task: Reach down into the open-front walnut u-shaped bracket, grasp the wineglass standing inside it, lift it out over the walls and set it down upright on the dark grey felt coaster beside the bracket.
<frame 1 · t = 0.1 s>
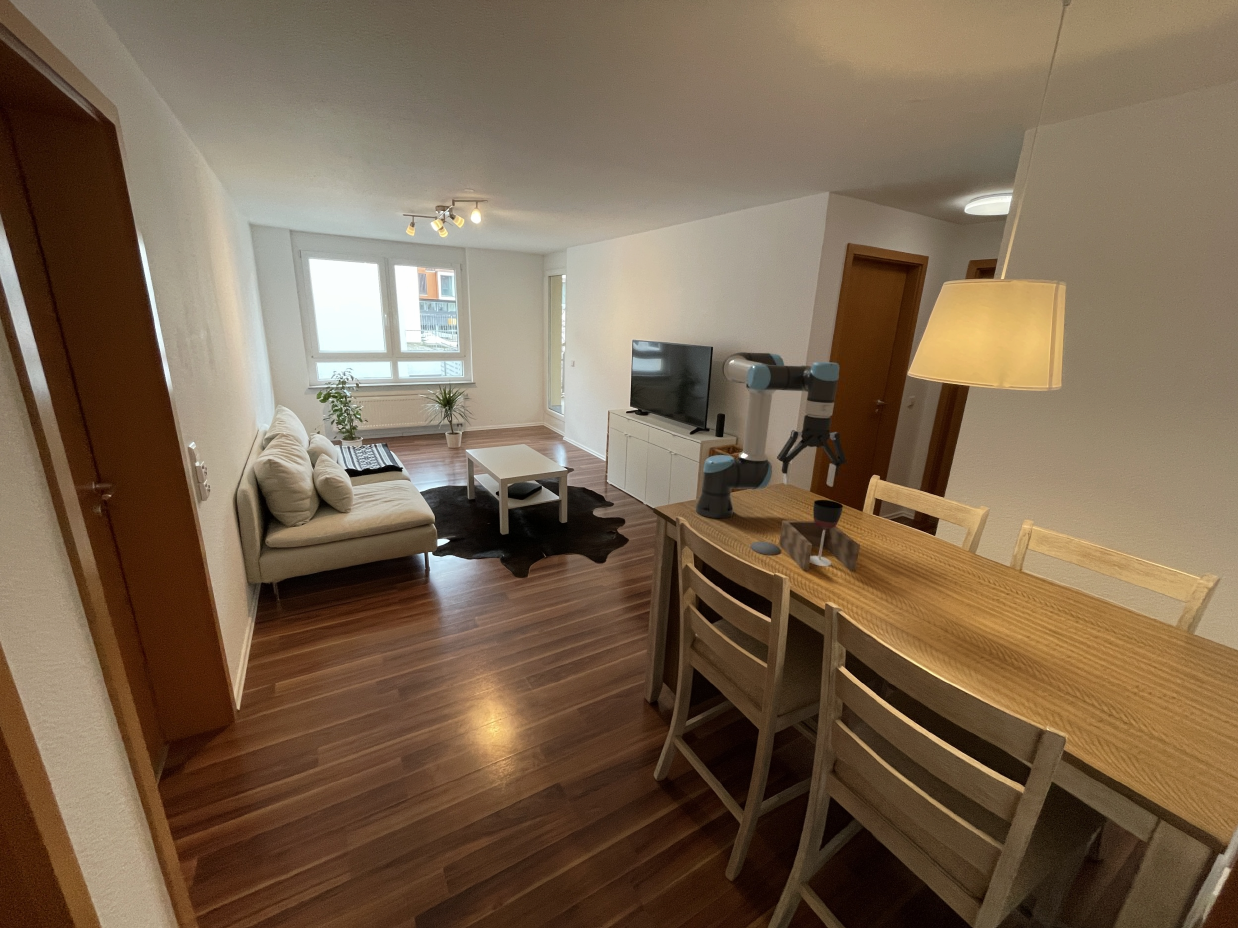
hand: (807, 484, 151), 28 cm above the table, fingers open, 13 cm apart
walnut u-shaped bracket: (819, 560, 164), on the table
wineglass: (818, 561, 164), on the table
felt coaster: (765, 548, 171), on the table
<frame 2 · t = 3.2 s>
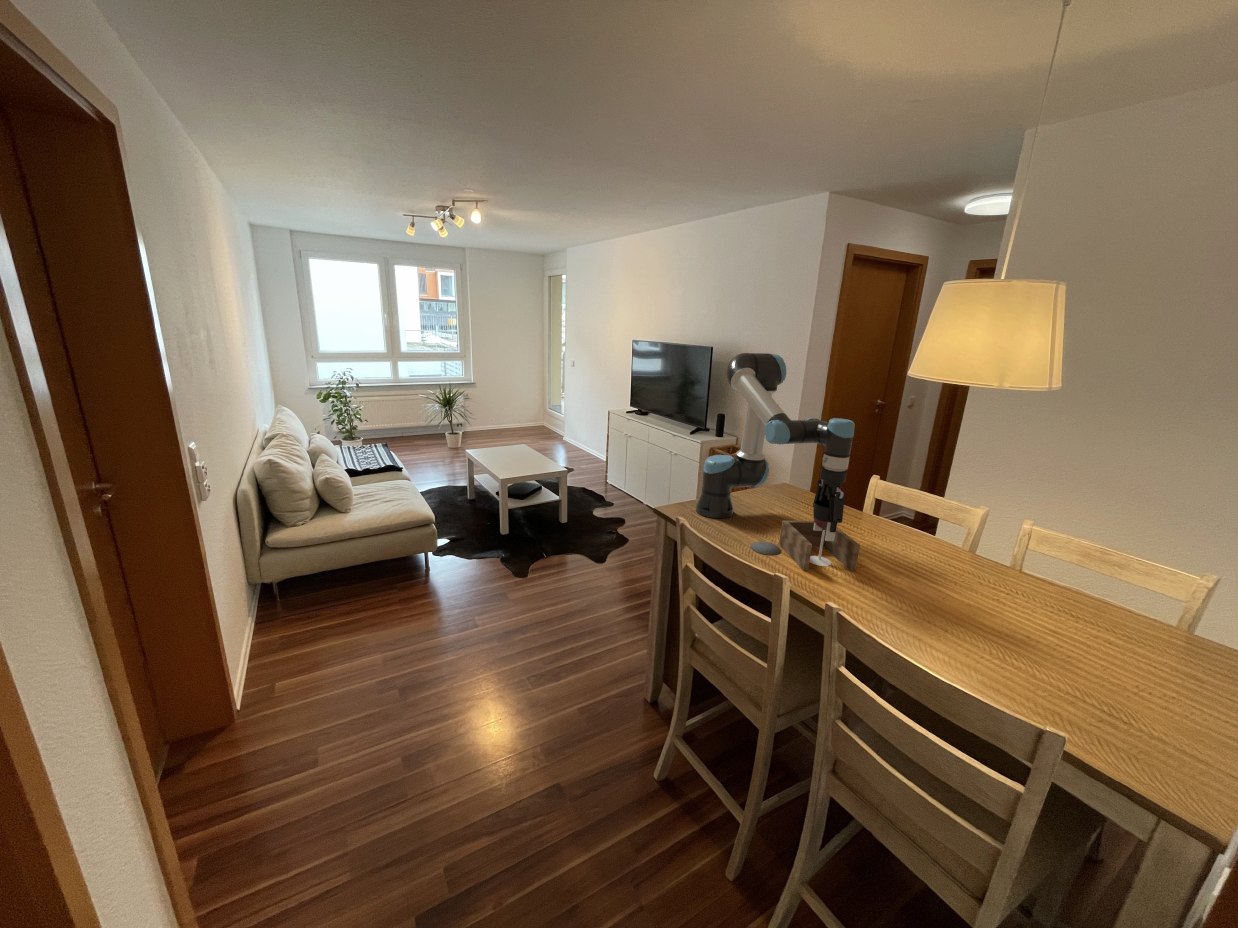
hand: (823, 535, 162), 9 cm above the table, fingers closed on wineglass, 7 cm apart
wineglass: (818, 561, 164), on the table, touching gripper
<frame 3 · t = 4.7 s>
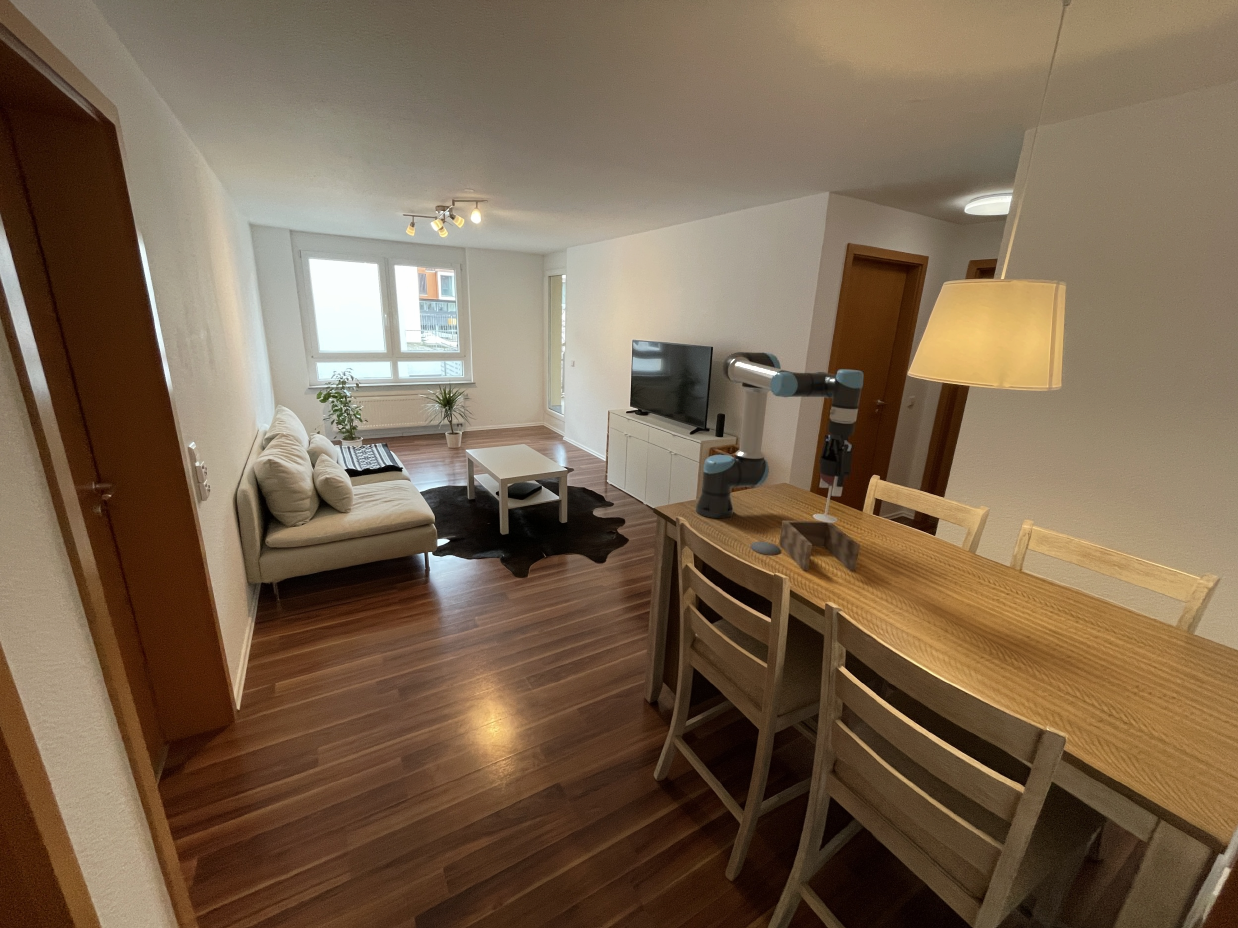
hand: (829, 491, 158), 24 cm above the table, fingers closed on wineglass, 7 cm apart
wineglass: (825, 518, 160), point 15 cm above the table, touching gripper
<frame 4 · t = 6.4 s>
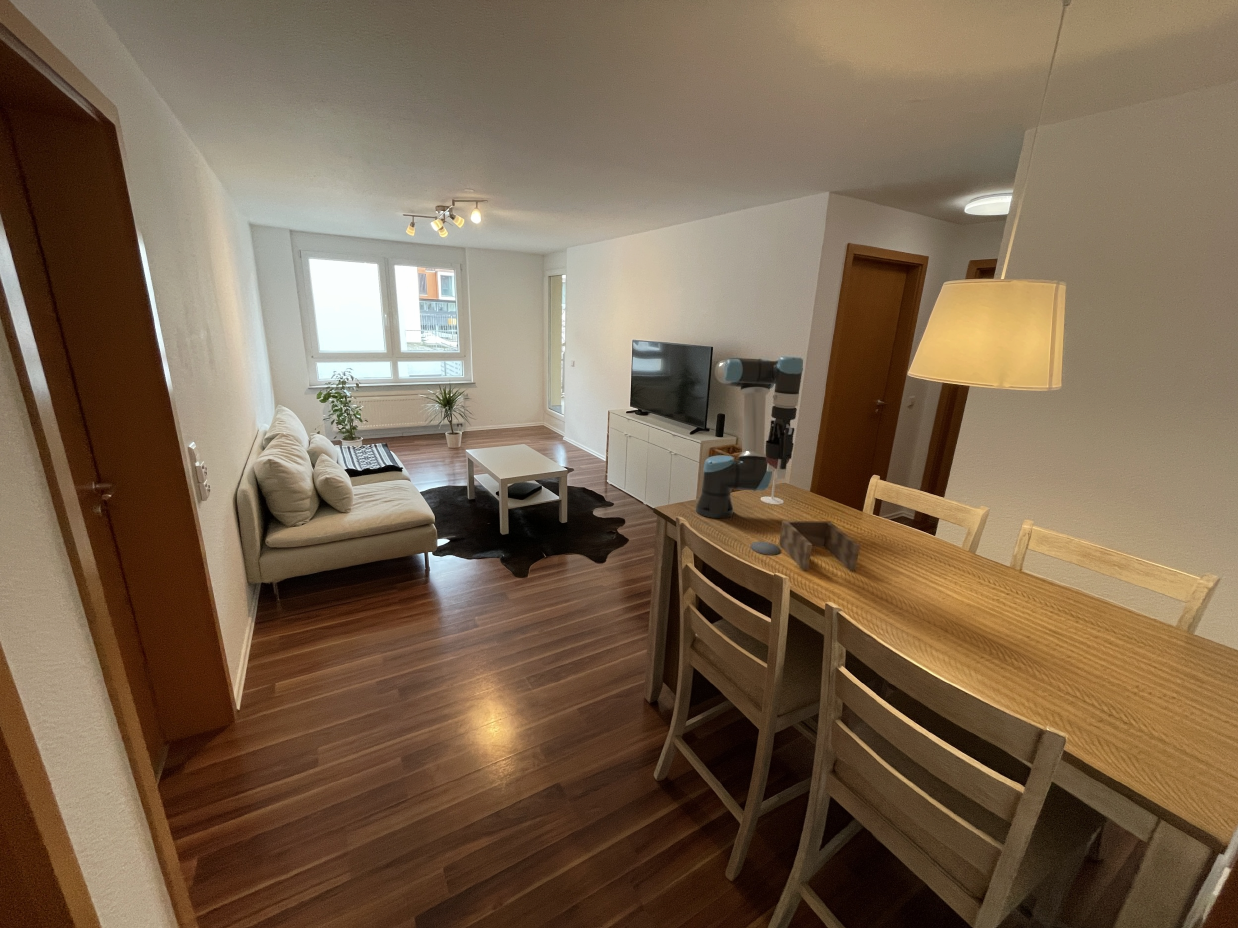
hand: (775, 474, 164), 27 cm above the table, fingers closed on wineglass, 7 cm apart
wineglass: (771, 500, 167), point 18 cm above the table, touching gripper
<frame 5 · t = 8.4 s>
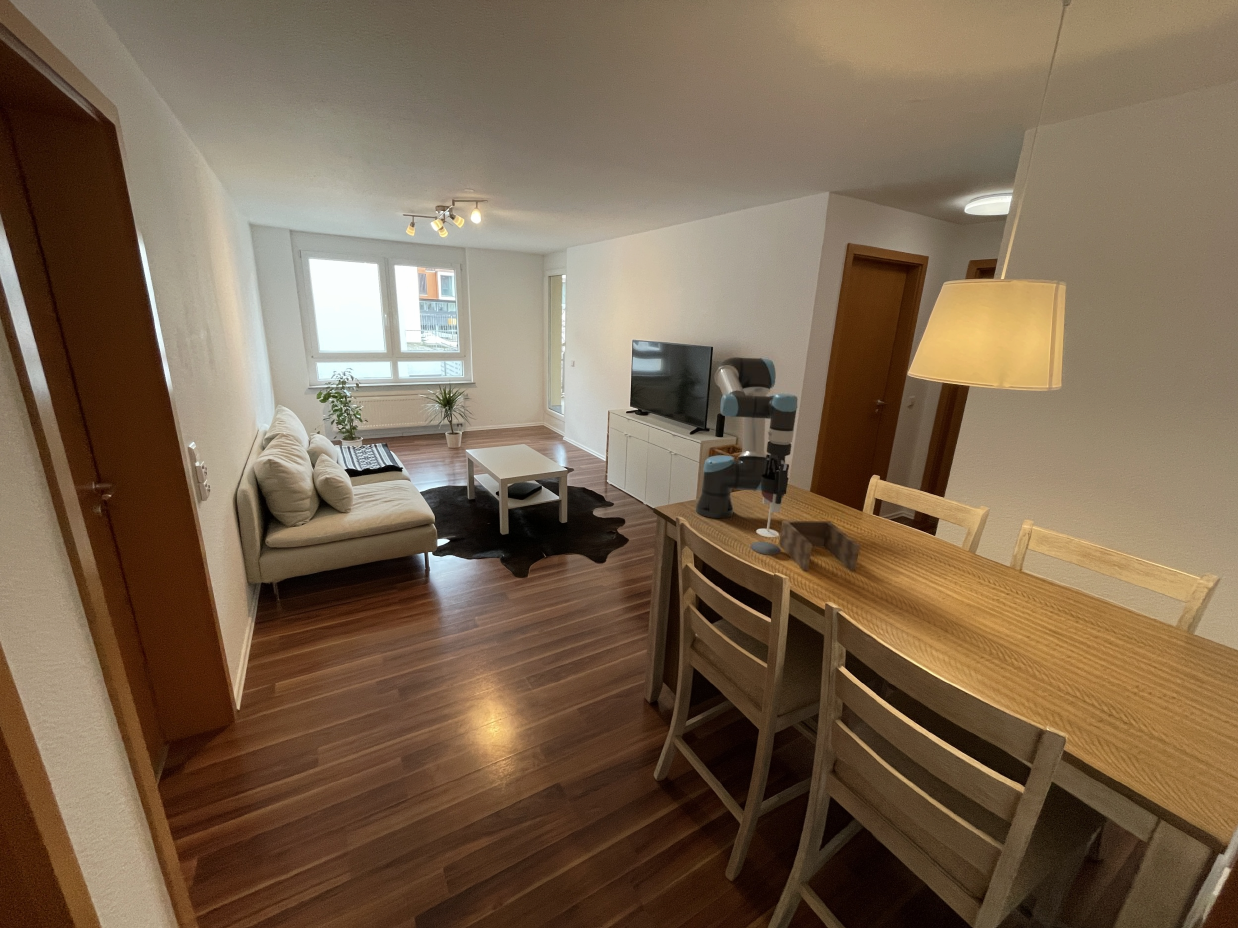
hand: (770, 507, 167), 15 cm above the table, fingers closed on wineglass, 7 cm apart
wineglass: (767, 533, 170), point 6 cm above the table, touching gripper
when the fingers open (11 cm above the table, at t = 9.8 s): wineglass drops 1 cm, resting on felt coaster.
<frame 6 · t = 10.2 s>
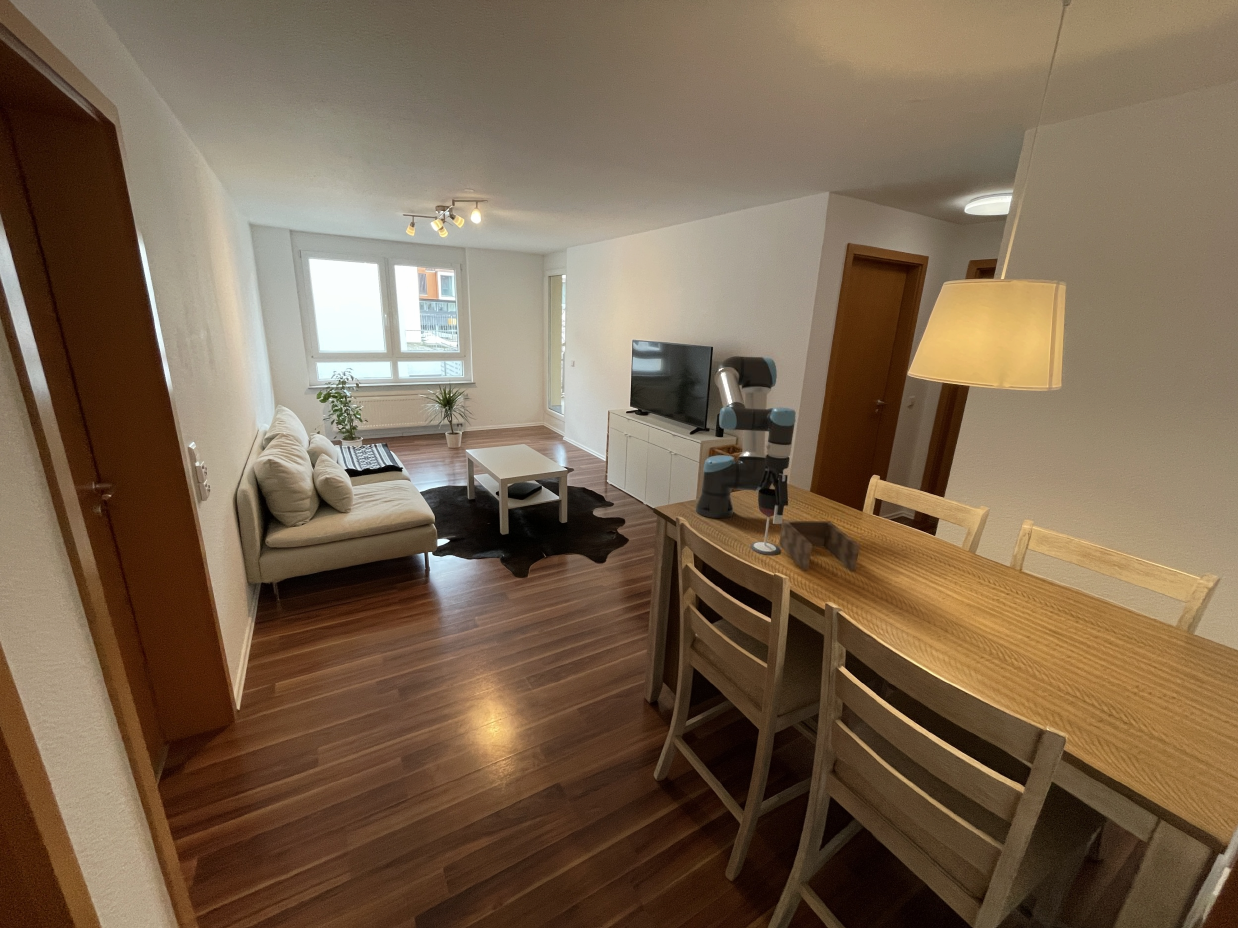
hand: (769, 516, 168), 12 cm above the table, fingers open, 13 cm apart
wineglass: (764, 547, 172), resting on felt coaster
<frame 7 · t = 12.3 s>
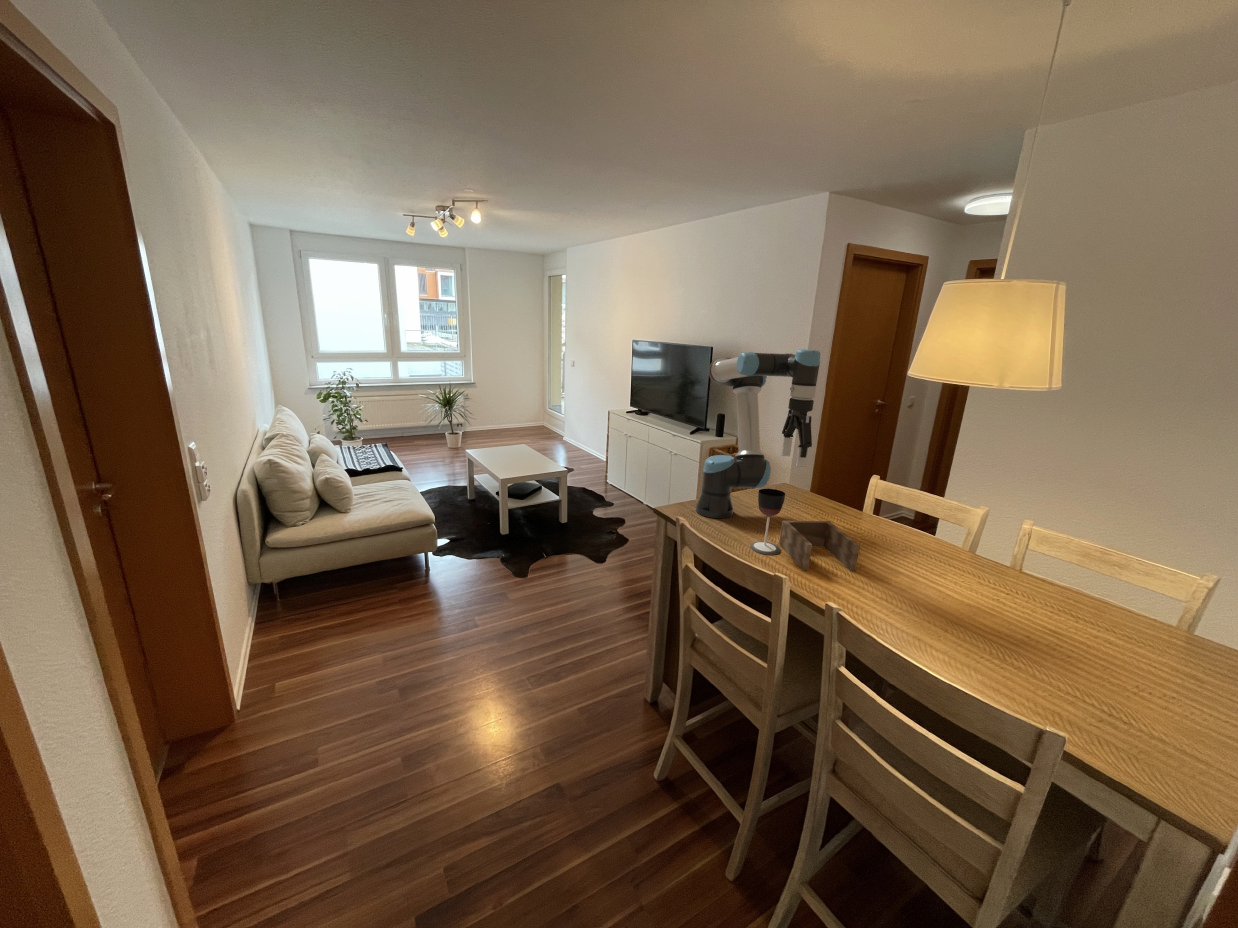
hand: (792, 461, 167), 31 cm above the table, fingers open, 13 cm apart
nothing on the table moved.
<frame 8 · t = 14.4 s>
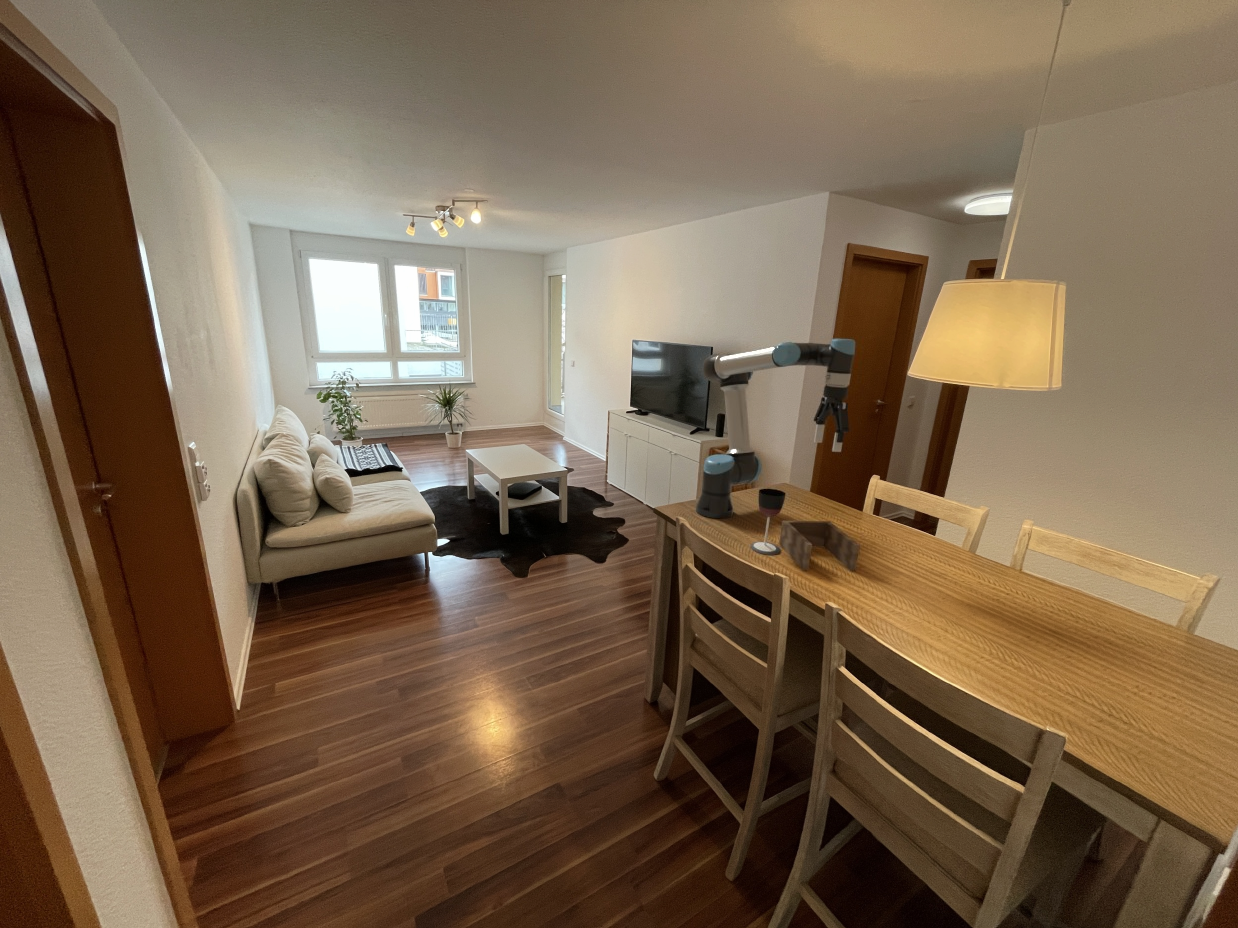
hand: (826, 446, 173), 35 cm above the table, fingers open, 13 cm apart
nothing on the table moved.
at the end: wineglass inside the target area (0.6 cm from its centre), resting on felt coaster; wineglass tilted 0°; the gripper is holding nothing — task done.
